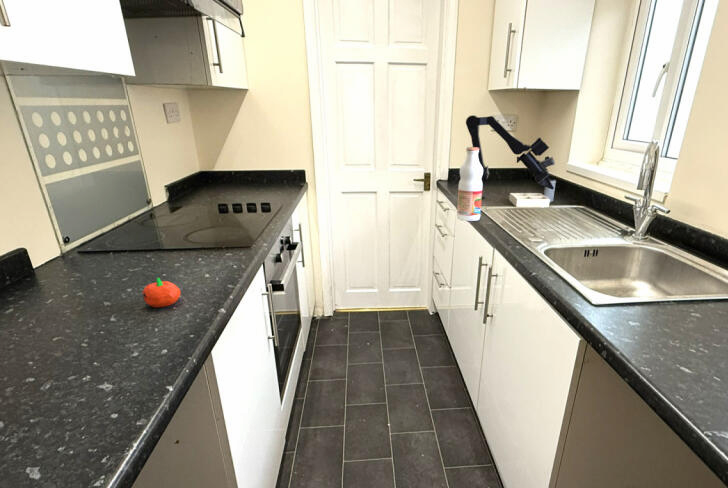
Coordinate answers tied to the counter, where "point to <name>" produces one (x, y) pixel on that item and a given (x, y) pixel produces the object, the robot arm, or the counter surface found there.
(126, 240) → the counter surface
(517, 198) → the grid
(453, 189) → the counter surface
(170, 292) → the pumpkin
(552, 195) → the grey cylinder
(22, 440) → the counter surface
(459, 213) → the fruit juice
